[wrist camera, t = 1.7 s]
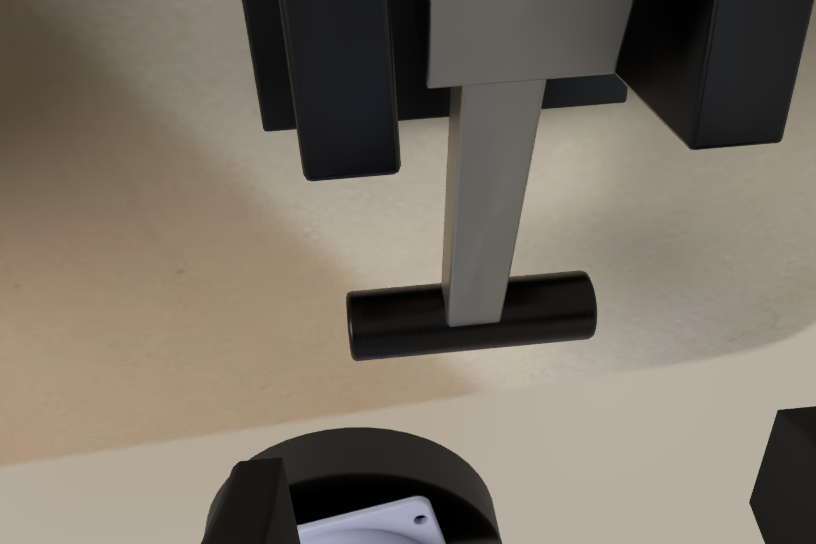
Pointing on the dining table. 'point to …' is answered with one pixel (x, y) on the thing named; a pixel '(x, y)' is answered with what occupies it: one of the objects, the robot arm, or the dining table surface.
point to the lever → (492, 178)
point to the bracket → (637, 70)
